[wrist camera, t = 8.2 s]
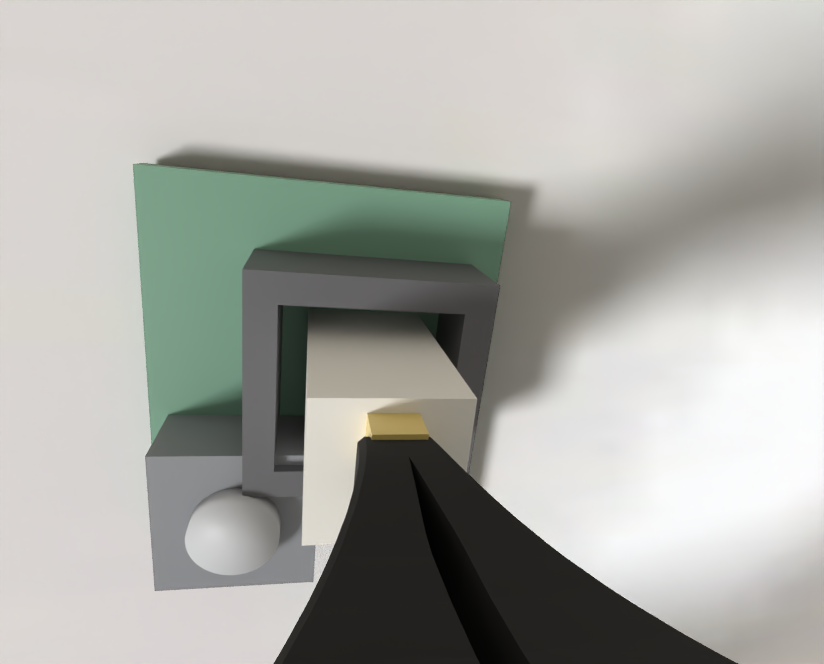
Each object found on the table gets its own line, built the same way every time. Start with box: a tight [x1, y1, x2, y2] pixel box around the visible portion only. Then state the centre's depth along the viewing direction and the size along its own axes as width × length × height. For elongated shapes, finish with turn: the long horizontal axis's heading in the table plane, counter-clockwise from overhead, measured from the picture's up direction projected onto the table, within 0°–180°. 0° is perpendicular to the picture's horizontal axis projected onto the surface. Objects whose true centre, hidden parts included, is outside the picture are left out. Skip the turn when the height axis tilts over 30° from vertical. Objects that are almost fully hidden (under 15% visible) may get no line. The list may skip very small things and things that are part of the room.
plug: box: [302, 309, 477, 546], centre depth 12 cm, size 3×3×7 cm
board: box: [133, 163, 511, 591], centre depth 15 cm, size 12×10×4 cm
